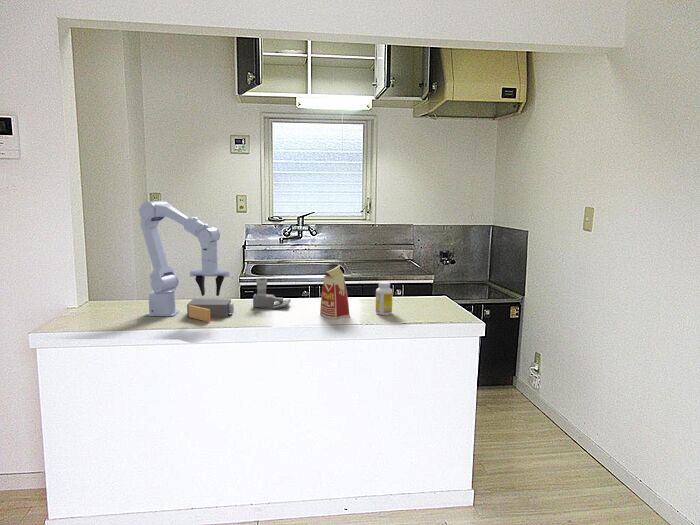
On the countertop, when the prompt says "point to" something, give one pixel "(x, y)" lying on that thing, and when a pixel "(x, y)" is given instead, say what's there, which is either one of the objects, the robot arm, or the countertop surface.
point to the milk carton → (334, 295)
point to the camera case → (214, 306)
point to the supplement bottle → (384, 298)
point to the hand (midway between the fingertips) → (210, 295)
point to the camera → (267, 297)
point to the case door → (199, 313)
